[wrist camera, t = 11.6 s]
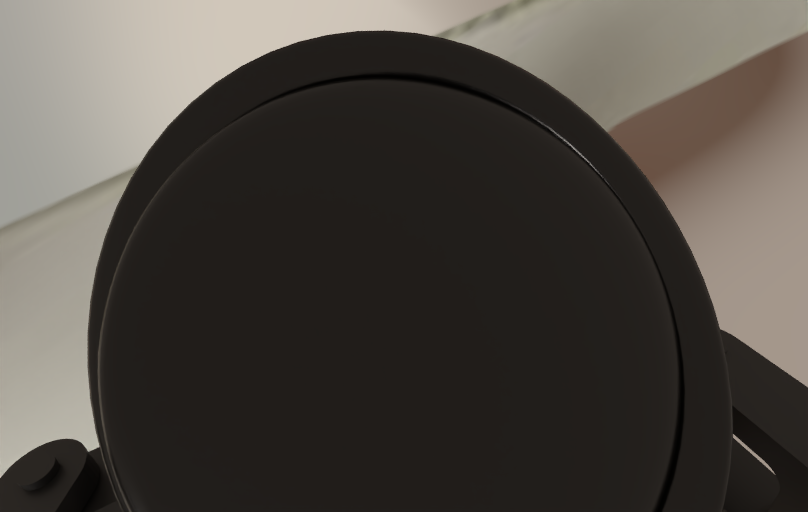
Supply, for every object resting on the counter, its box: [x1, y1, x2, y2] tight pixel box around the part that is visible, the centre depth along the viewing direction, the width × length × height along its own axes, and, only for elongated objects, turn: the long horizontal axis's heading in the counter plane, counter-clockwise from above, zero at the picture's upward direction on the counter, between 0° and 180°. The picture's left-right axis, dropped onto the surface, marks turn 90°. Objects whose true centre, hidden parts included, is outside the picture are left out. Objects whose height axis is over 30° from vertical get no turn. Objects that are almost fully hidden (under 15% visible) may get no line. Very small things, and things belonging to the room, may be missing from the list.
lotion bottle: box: [88, 31, 733, 512], centre depth 12 cm, size 6×6×20 cm
